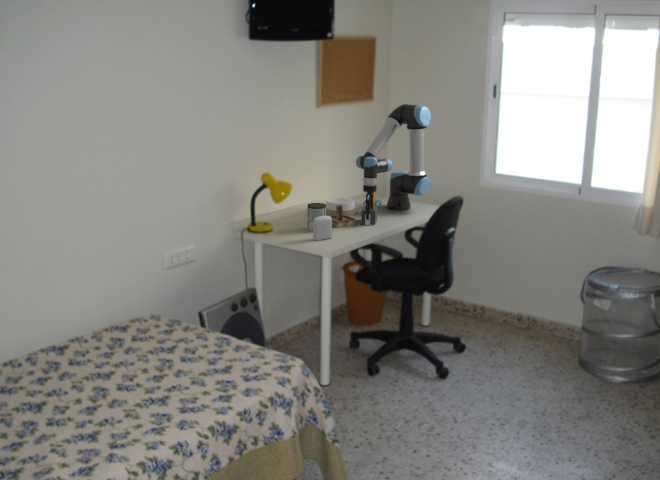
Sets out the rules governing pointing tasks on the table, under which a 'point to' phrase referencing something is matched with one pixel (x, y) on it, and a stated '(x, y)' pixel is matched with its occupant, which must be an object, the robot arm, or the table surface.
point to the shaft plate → (342, 219)
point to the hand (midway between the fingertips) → (368, 222)
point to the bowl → (346, 204)
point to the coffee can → (315, 213)
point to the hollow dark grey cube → (372, 216)
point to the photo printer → (322, 228)
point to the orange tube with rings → (374, 201)
